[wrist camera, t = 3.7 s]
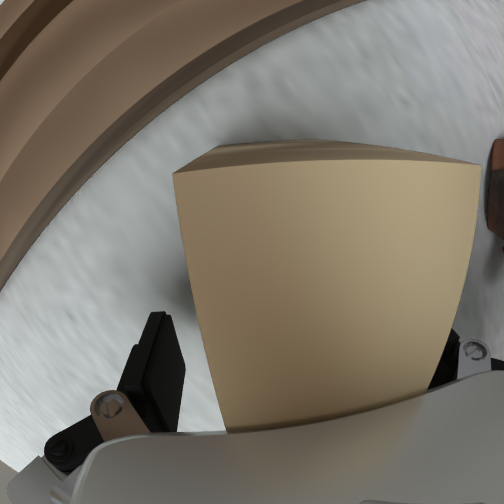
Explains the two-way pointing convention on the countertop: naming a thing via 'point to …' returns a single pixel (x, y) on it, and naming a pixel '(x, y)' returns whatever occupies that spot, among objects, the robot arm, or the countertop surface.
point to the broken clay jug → (497, 191)
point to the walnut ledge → (106, 86)
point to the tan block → (323, 273)
